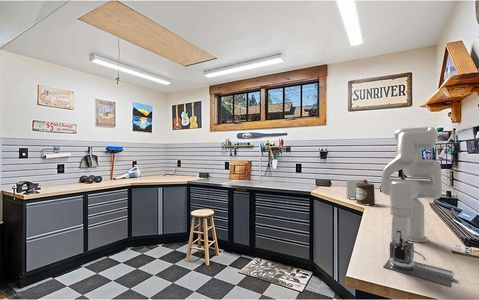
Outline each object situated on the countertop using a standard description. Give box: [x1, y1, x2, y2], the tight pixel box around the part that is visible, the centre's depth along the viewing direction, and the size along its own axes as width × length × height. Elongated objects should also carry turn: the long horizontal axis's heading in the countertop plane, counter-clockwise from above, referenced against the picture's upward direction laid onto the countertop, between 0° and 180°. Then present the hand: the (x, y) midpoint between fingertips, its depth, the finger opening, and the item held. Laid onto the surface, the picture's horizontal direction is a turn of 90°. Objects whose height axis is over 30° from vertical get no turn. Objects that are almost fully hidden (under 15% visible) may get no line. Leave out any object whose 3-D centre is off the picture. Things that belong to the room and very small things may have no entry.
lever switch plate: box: [383, 254, 454, 288], centre depth 93 cm, size 14×20×6 cm
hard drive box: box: [345, 178, 364, 199], centre depth 243 cm, size 16×8×20 cm, turn 82°
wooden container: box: [356, 179, 376, 205], centre depth 219 cm, size 15×15×22 cm
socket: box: [389, 239, 415, 263], centre depth 97 cm, size 7×7×6 cm
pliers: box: [414, 250, 426, 261], centre depth 113 cm, size 10×1×20 cm
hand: (401, 255), depth 97 cm, fingers closed on socket, 7 cm apart
